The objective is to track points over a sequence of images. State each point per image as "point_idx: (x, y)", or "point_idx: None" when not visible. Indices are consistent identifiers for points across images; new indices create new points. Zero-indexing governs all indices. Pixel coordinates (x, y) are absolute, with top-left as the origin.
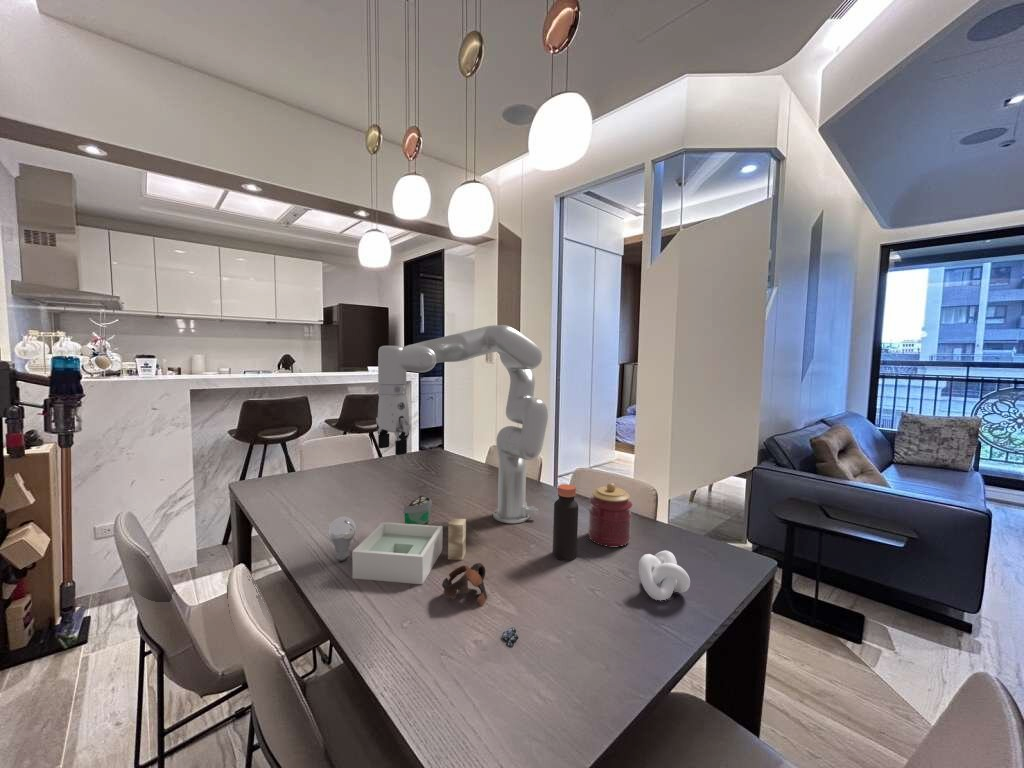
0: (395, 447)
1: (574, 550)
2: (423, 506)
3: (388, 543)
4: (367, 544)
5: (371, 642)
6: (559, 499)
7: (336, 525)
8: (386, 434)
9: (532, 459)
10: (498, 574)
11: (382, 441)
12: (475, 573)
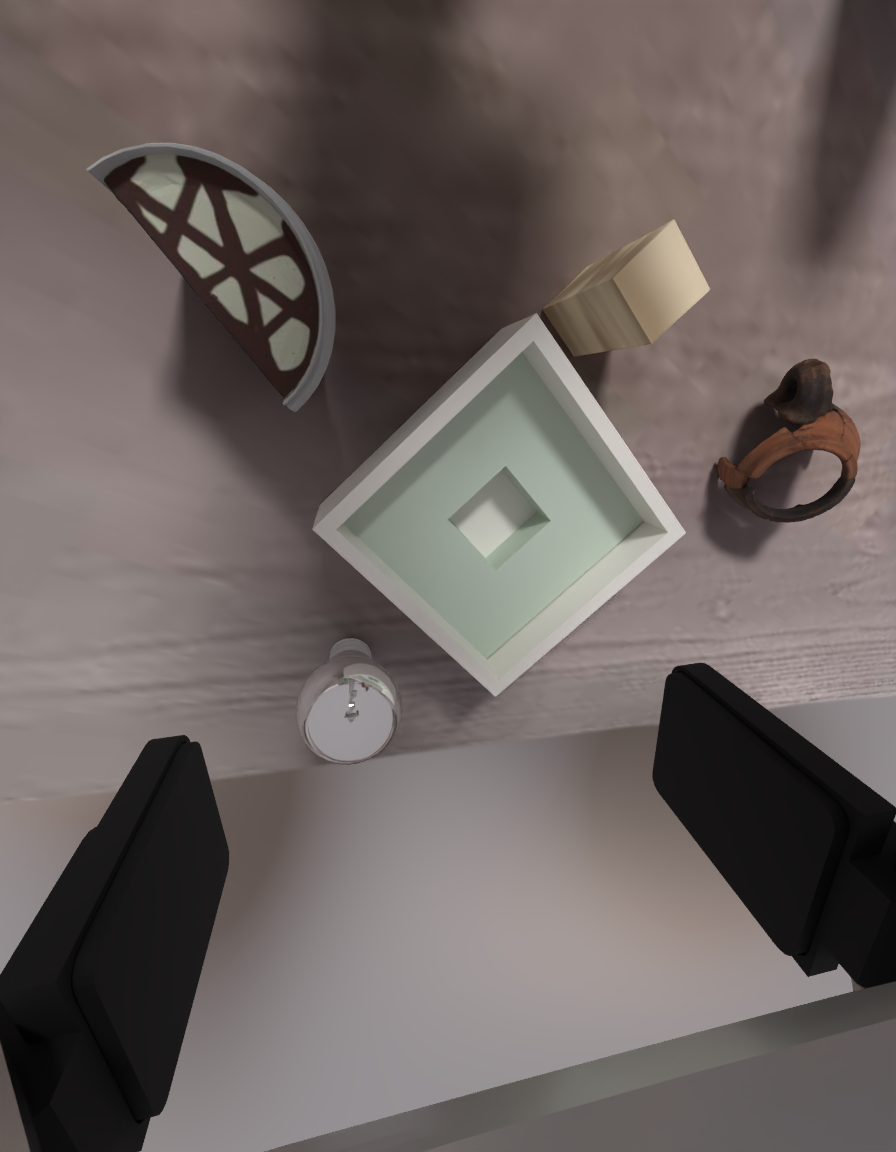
0: (725, 864)
1: None
2: (326, 289)
3: (432, 539)
4: (449, 630)
5: None
6: None
7: (376, 754)
8: (105, 1026)
9: None
10: (769, 276)
11: (192, 929)
12: (852, 434)
